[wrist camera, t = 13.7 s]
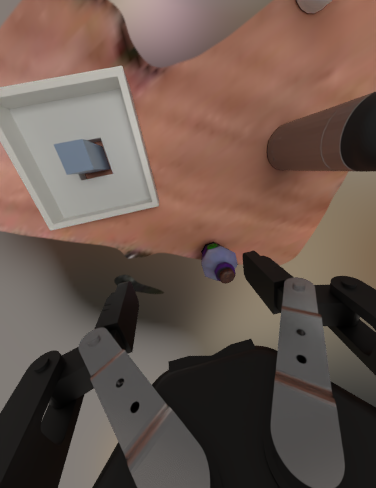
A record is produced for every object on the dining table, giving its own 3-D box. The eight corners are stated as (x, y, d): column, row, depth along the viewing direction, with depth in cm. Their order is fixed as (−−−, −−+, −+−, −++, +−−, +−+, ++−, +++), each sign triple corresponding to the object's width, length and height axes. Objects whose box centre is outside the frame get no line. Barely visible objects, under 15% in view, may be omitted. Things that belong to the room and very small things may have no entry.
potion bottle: (215, 229, 44) (233, 250, 33) (233, 252, 47) (255, 277, 36) (189, 251, 45) (198, 277, 34) (208, 271, 49) (222, 301, 38)
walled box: (129, 86, 31) (122, 65, 24) (159, 199, 39) (158, 205, 33) (12, 108, 30) (-27, 92, 23) (68, 220, 38) (50, 230, 32)
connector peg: (103, 146, 34) (82, 138, 25) (110, 169, 35) (93, 169, 26) (82, 151, 34) (53, 144, 24) (90, 173, 35) (66, 174, 26)
